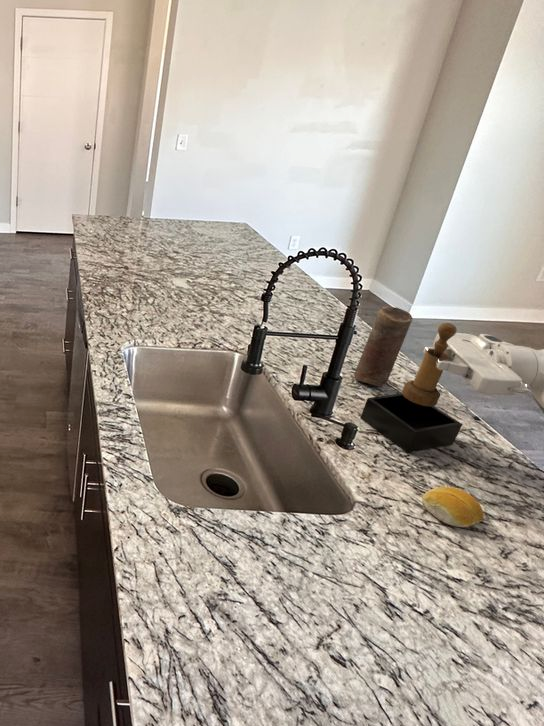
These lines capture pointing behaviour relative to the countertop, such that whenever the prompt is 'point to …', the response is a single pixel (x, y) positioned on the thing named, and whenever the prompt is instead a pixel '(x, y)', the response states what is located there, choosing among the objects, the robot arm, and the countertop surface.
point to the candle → (383, 346)
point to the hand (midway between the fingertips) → (430, 357)
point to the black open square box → (410, 423)
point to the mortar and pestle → (430, 371)
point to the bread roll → (453, 506)
